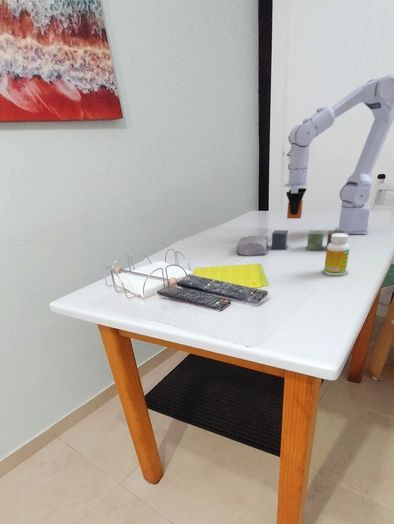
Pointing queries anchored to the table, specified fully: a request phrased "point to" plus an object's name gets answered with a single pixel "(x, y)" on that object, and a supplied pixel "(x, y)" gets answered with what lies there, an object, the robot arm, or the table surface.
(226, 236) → the table surface
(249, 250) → the stone block
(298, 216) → the terracotta block
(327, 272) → the supplement bottle
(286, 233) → the block row
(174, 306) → the table surface
